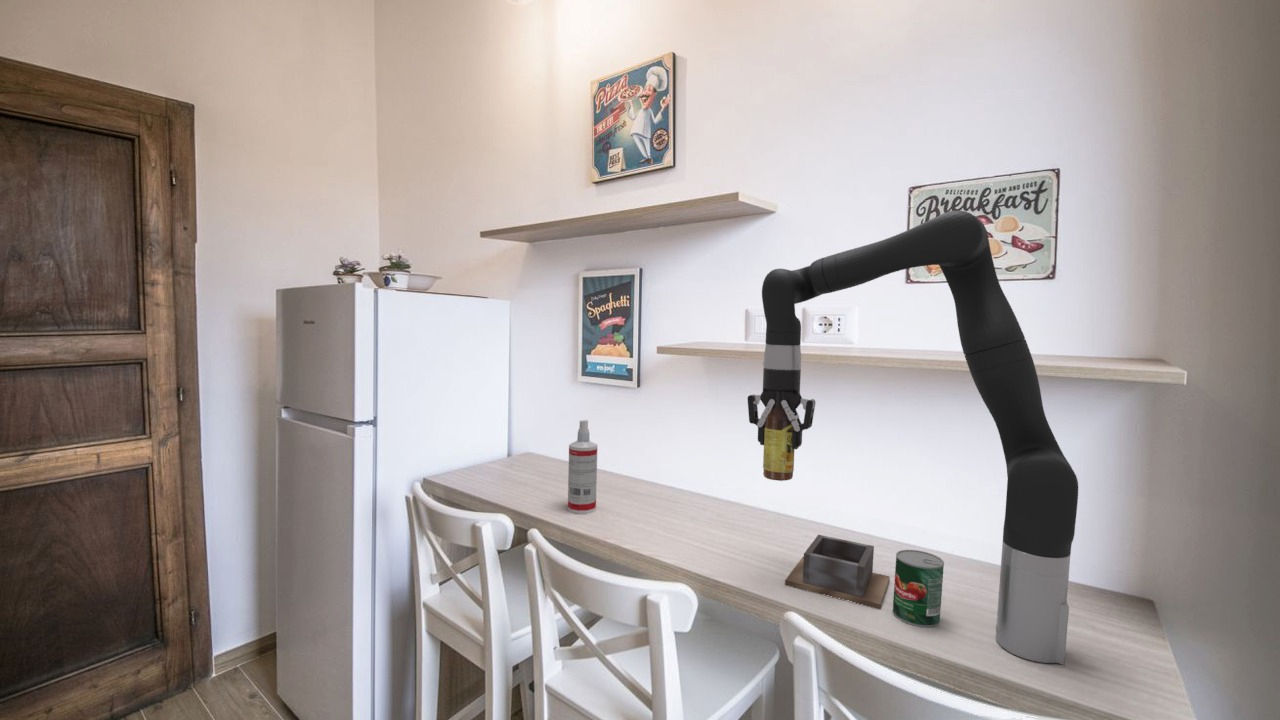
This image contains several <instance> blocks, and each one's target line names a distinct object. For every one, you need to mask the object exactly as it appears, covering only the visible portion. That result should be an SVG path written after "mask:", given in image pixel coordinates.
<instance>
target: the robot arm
mask: <svg viewBox="0 0 1280 720" xmlns="http://www.w3.org/2000/svg"><path fill="white" fill-rule="evenodd" d="M990 246H991V245H990V241H989V235H988V230H987V228H986V227H985V224H984V223H983V222H982V221H981V220H980V219H979V218H978V217H977V216H975V214H972V213H971V212H968V211H966V210H965V211H964V210H949V211H946V212H944V213H942V214H939V215H937V216H936V217H932V218H930V219H929V220H927V221H925V222H922V223H921V224H918V225H916V226H914V227H912V228H910V229H908V230H905V231H903V232H900V233H899V234H898V233H897V234H895V235H894V236H890V237H888V238H884V239H882V240H879V241H876V242H872V243H869V244H866V245H862V246H859V247H855V248H852V249H849V250H844V251H840V252H838V253H834V254H831V255H828V256H825V257H821V258H819V259H816V260H814V261H813V262H811V264H810V265H808V266H805V267H802V268H798V269H795V270H790V269H786V268H775V269H772V270H770V271H769V272H768V273H767V274H766V276H765V278H764V280H763V283H762V288H761V300H762V307H763V312H764V313H763V314H764V318H765V322H766V326H765V327H766V328H765V348H764V353H763V360H762V364H763V370H762V371H763V373H762V392H761V394H754V393H753V394H750V395H748V396H747V398H746V399H747V408H748V409H747V411H748V421H749V423H750V424H754V425H756V426H757V441H758V443H759V445H760V446H764V431H765V422H766V418H767V416H768V414H769V413H770V411H771V410H772V408H773V407H774V405H775V402H776V401H775V398H774V394H775V393H774V392H775V391H784V399H783V401H782V402H781V404H782V406H783V408H784V410H785V412H786V414H787V416H788V419H789V421H790V422H791V423H792V426H793V428H794V430H795V431H793V449H794V450H797V449H799V448H800V447H801V446H802V444H803V443H802V442H803V431H806V430H808V429H810V428H811V427H812V425H813V420H814V415H815V409H816V408H815V407H816V402H817V401H816V400H815V399H813V398H812V399H807V398H803V397H802V396H801V372H802V371H801V368H802V350H801V344H802V343H801V341H802V340H801V338H802V325H801V324H802V323H801V321H800V319H799V318H798V317H797V316H796V306H795V305H797V304H801V303H803V302H806V301H809V300H812V299H815V298H817V297H820V296H821V295H825V294H832V293H835V292H839V291H842V290H846V289H849V288H853V287H858V286H860V285H864V284H866V283H869V282H871V281H873V280H874V281H875V280H876V279H878V278H881V277H884V276H887V275H890V274H892V273H896V272H899V271H903V270H908V269H912V268H919V267H925V266H934V265H935V266H936V265H938V266H939V268H940V270H941V271H942V275H943V276H944V278H945V280H946V282H947V285H948V287H949V289H950V292H951V294H952V297H953V302H954V305H955V306H954V307H955V313H956V321H957V323H956V324H957V329H958V335H959V341H960V344H961V348H962V353H963V355H964V358H965V361H966V364H967V366H968V367H967V368H968V369H969V372H970V375H971V378H972V381H973V382H974V384H975V387H976V389H977V391H978V393H979V395H980V397H981V399H982V401H983V402H984V405H985V406H986V408H987V410H988V412H989V413H990V415H991V416H992V419H993V422H994V423H995V425H996V429H997V431H998V435H999V439H1000V441H1001V445H1002V450H1003V454H1004V459H1005V464H1006V474H1007V475H1006V476H1007V482H1006V497H1005V500H1006V501H1005V510H1004V511H1005V512H1004V521H1003V528H1002V529H1003V531H1002V532H1003V533H1002V543H1001V544H1002V545H1001V547H1002V548H1001V557H1000V558H1001V560H1000V574H999V585H998V586H999V589H998V598H997V599H998V601H997V602H998V603H997V612H996V613H997V614H996V615H997V617H996V624H995V640H996V642H997V644H998V645H999V646H1001V648H1003V649H1004V650H1005V651H1007V652H1009V653H1010V654H1012V655H1015V656H1017V657H1020V658H1023V659H1026V660H1029V661H1033V662H1038V663H1044V664H1045V663H1046V664H1053V663H1056V664H1061V665H1065V662H1066V661H1065V660H1066V648H1067V637H1068V626H1069V625H1068V623H1069V614H1070V613H1069V612H1070V607H1069V603H1068V592H1069V591H1068V589H1069V578H1070V577H1069V575H1070V566H1071V565H1070V564H1071V554H1072V553H1071V552H1072V545H1073V541H1074V538H1075V533H1076V523H1077V522H1076V521H1077V512H1078V501H1079V500H1078V499H1079V482H1078V477H1077V475H1076V473H1075V470H1073V468H1072V466H1071V464H1070V463H1069V461H1068V459H1067V458H1066V457H1065V455H1064V453H1063V451H1062V449H1061V447H1060V446H1059V443H1058V442H1057V439H1056V437H1055V435H1054V433H1053V431H1052V429H1051V426H1050V424H1049V421H1048V420H1047V417H1046V414H1045V409H1044V406H1043V399H1042V394H1041V388H1040V386H1041V385H1040V383H1039V378H1038V374H1037V369H1036V366H1035V363H1034V359H1033V356H1032V354H1031V351H1030V348H1029V345H1028V343H1027V340H1026V337H1025V334H1024V332H1023V330H1022V328H1021V326H1020V323H1019V320H1018V319H1017V318H1018V317H1016V315H1015V312H1014V311H1013V308H1012V306H1011V304H1010V303H1009V300H1008V299H1007V296H1006V295H1005V293H1004V291H1003V289H1002V287H1001V284H1000V282H999V278H998V275H997V271H996V268H995V264H994V260H993V255H992V250H991V247H990ZM760 401H761V402H762V404H763V406H764V407H765V408H764V410H763V412H762V413H761V415H760V418H759V410H758V405H759V404H760ZM800 405H802V410H805V411H804V418H803V423H802V421H801V420H800V415H799V412H798V410H797V408H798V407H799V406H800Z"/></svg>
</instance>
